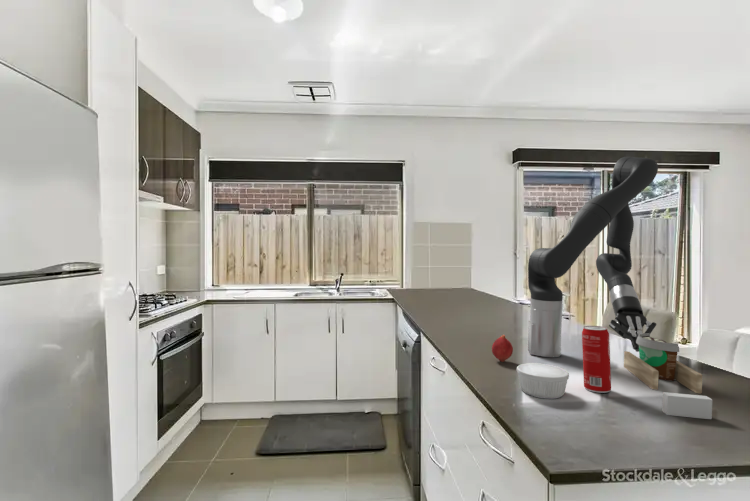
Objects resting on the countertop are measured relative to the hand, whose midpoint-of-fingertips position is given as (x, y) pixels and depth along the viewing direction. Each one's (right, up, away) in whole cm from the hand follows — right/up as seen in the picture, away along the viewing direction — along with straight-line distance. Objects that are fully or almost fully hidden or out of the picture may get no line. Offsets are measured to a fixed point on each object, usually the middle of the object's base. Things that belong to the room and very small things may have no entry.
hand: (640, 350), depth 118 cm
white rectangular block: (-13, -5, -34) cm, 37 cm away
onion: (-40, -4, +1) cm, 40 cm away
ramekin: (-38, -4, -22) cm, 44 cm away
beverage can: (-24, -5, -20) cm, 32 cm away
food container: (-3, -5, -8) cm, 10 cm away
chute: (-3, -5, -12) cm, 13 cm away
